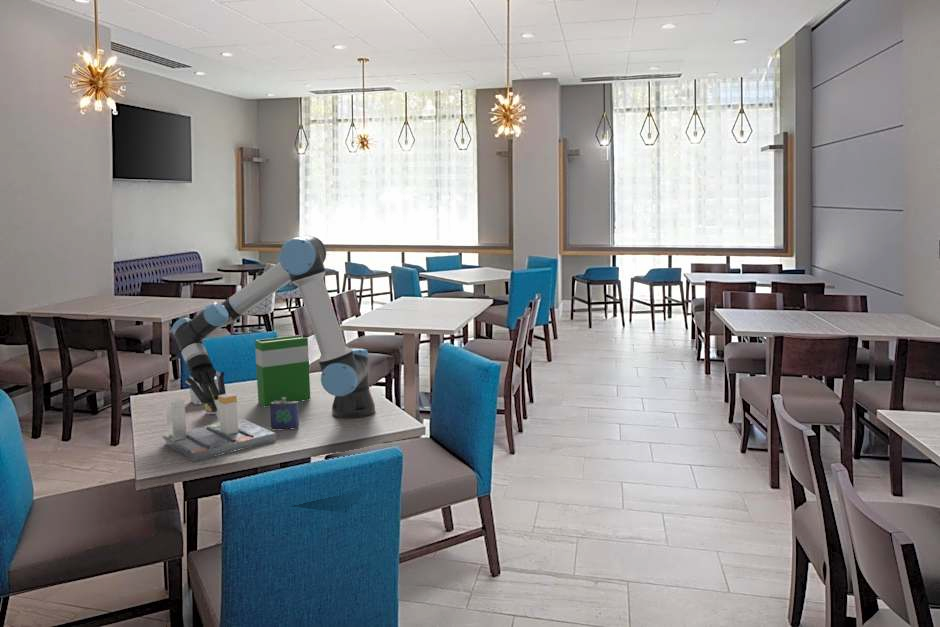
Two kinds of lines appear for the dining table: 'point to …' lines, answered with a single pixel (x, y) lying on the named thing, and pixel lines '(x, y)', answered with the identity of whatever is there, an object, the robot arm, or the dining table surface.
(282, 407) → the flask
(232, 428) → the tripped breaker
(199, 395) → the robot arm
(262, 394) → the hardback book
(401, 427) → the dining table surface
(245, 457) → the dining table surface
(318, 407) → the dining table surface
